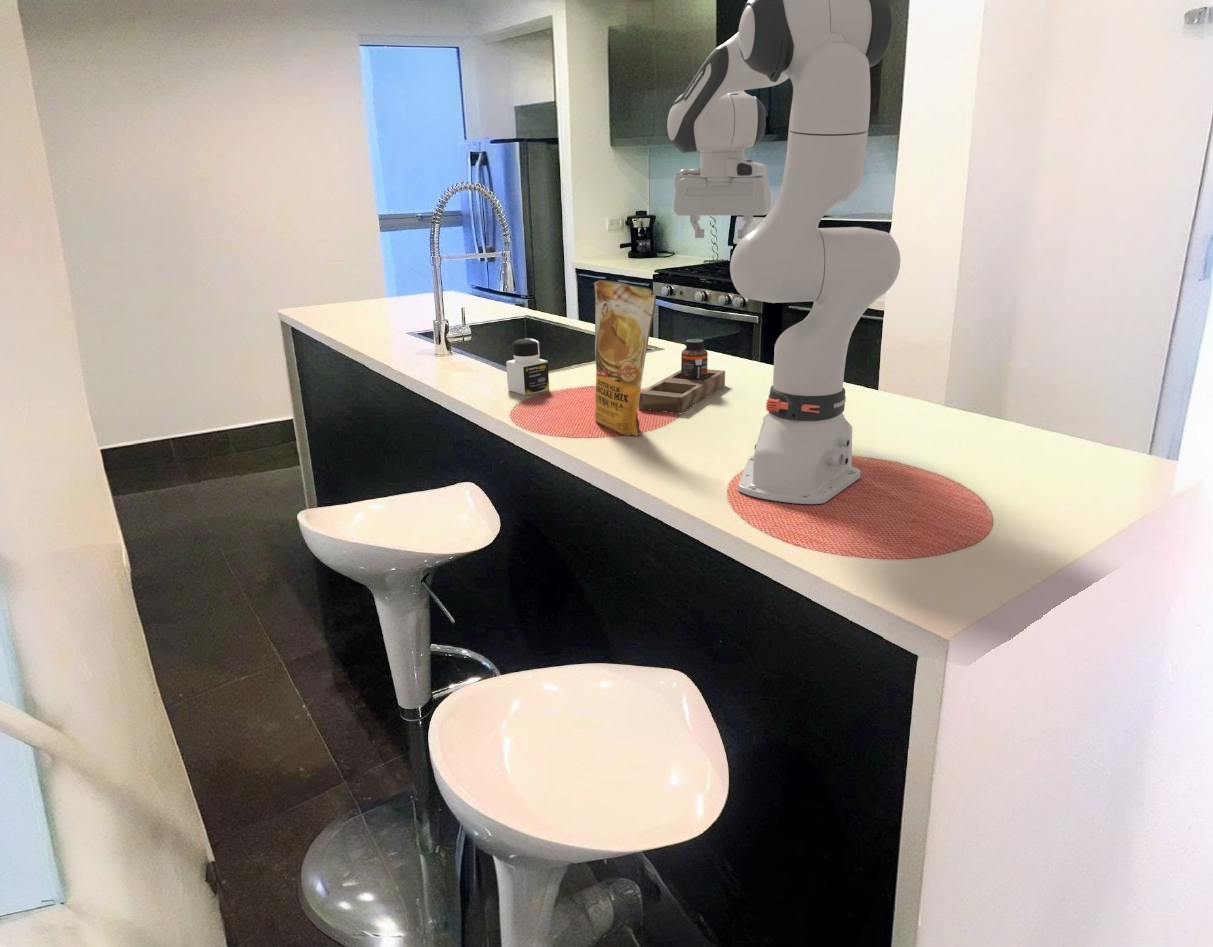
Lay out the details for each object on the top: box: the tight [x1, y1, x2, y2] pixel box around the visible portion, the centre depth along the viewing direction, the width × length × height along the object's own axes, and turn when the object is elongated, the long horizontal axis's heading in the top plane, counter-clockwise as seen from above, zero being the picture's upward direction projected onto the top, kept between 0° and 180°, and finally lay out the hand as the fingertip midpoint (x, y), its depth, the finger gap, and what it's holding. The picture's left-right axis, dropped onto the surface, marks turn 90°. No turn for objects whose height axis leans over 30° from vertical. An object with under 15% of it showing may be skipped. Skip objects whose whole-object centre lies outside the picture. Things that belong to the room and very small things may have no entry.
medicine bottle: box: [505, 338, 550, 396], centre depth 194 cm, size 7×7×12 cm
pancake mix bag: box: [593, 279, 657, 437], centre depth 162 cm, size 7×19×28 cm, turn 29°
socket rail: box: [638, 368, 726, 414], centre depth 186 cm, size 26×10×4 cm, turn 152°
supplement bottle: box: [680, 338, 709, 381], centre depth 189 cm, size 6×6×11 cm
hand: (720, 238), depth 174 cm, fingers open, 8 cm apart
